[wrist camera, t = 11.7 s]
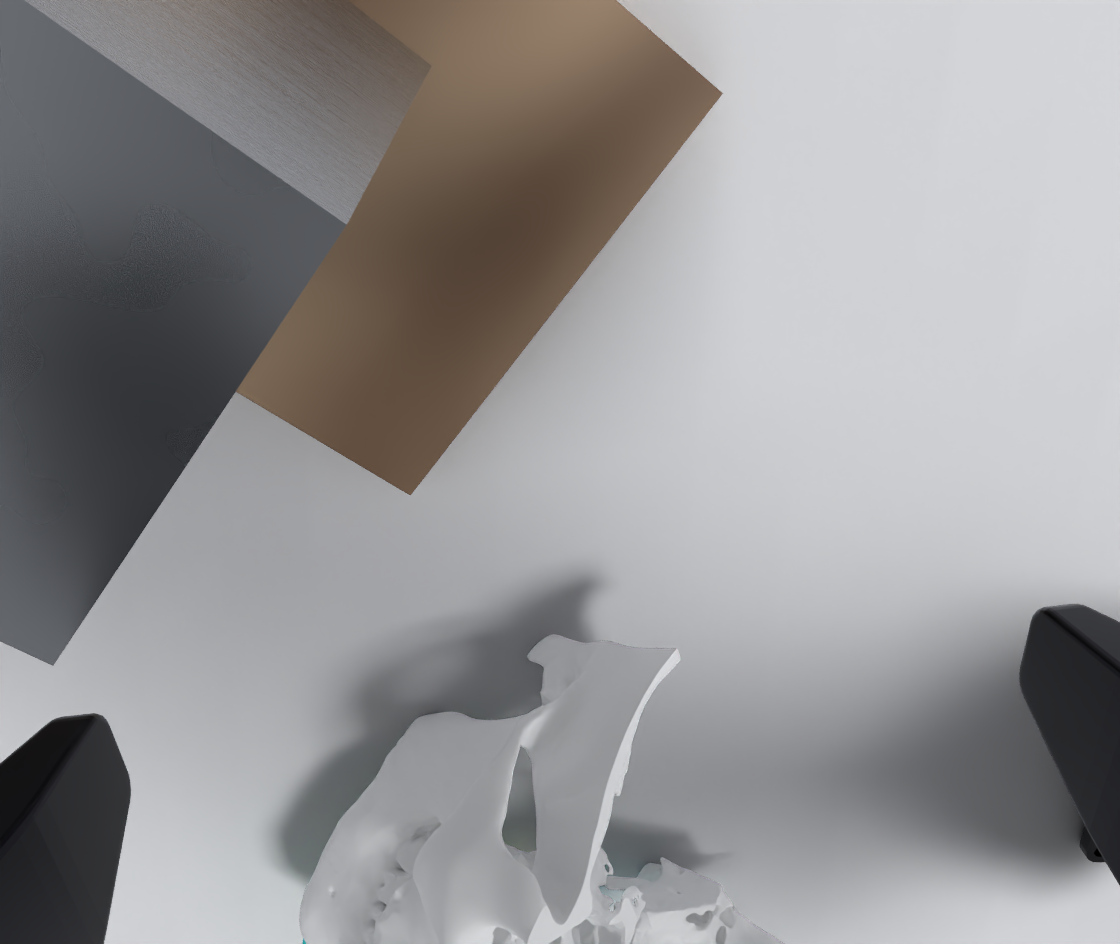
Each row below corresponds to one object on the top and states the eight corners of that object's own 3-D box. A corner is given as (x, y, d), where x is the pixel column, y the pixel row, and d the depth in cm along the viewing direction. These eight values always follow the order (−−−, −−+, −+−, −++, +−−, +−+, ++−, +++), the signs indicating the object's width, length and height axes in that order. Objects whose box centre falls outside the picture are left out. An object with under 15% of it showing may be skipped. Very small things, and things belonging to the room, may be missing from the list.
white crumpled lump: (165, 807, 23) (414, 986, 17) (412, 577, 28) (677, 648, 22) (374, 1064, 29) (620, 1271, 23) (549, 835, 34) (791, 951, 28)
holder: (714, 88, 19) (750, 108, 17) (412, 479, 23) (402, 546, 20) (-24, -555, 14) (-139, -672, 12) (-257, 74, 18) (-385, 94, 15)
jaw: (108, -189, 16) (-741, -532, 5) (431, 65, 18) (347, 223, 7) (-16, 69, 18) (-855, 244, 7) (294, 274, 20) (52, 666, 9)
